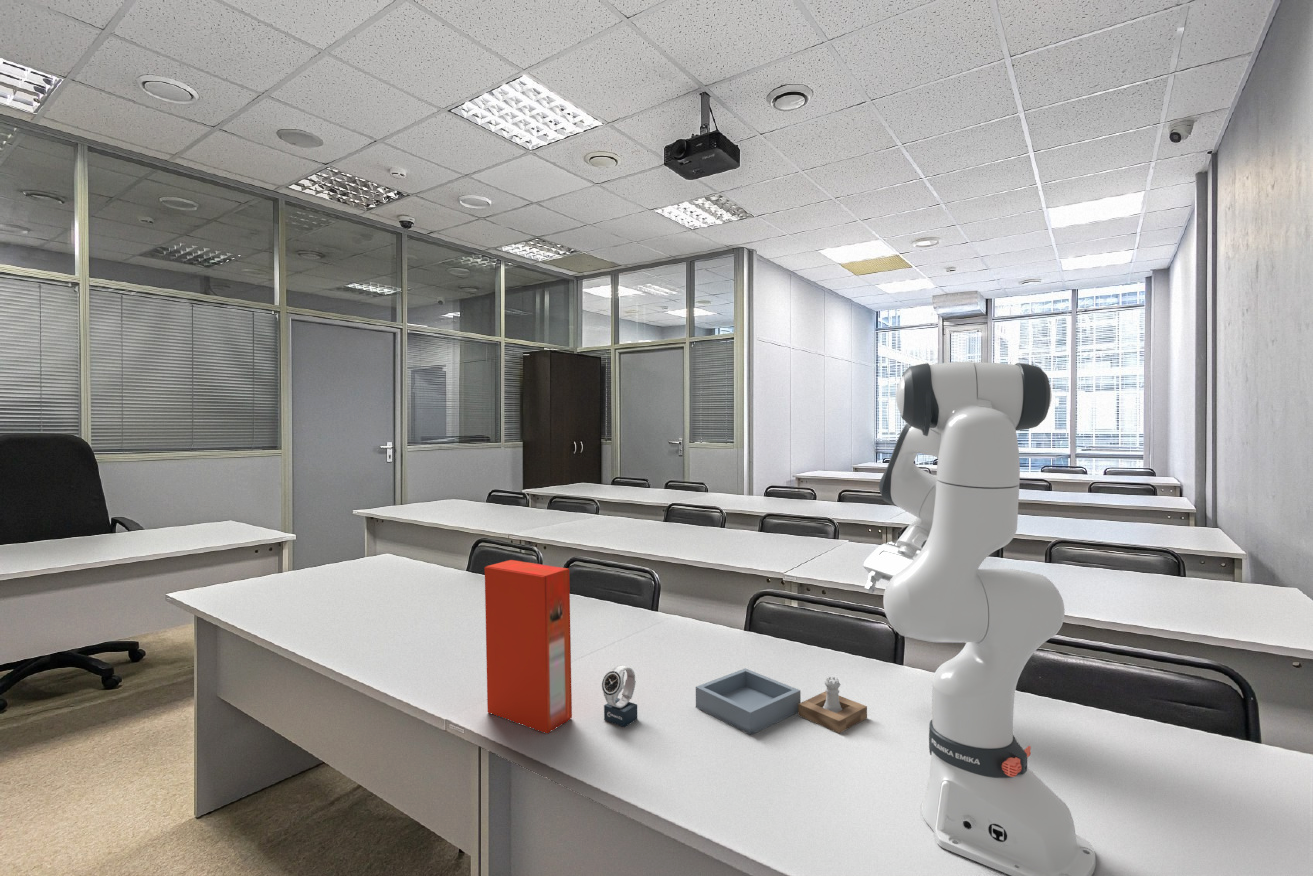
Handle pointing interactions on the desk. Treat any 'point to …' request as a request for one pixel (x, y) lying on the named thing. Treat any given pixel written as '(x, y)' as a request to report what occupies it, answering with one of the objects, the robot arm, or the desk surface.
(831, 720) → the socket block
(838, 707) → the rook chess piece
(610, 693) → the watch
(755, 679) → the tray
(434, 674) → the desk surface
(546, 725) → the file binder
